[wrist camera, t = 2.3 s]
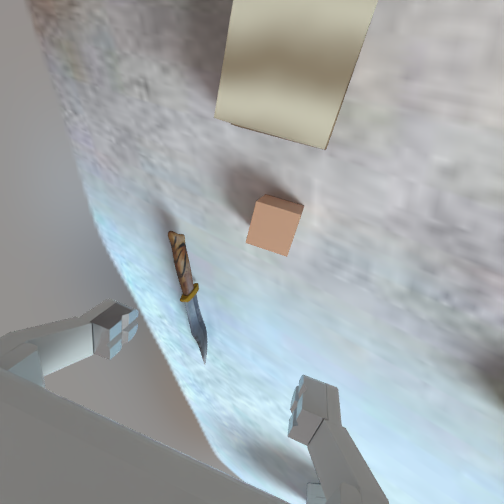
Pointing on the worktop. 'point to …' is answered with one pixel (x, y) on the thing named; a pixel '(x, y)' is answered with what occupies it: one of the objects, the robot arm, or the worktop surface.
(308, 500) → the supplement box
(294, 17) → the birch slab
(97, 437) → the robot arm
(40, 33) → the worktop surface
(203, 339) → the knife
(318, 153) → the worktop surface
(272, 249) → the terracotta block
